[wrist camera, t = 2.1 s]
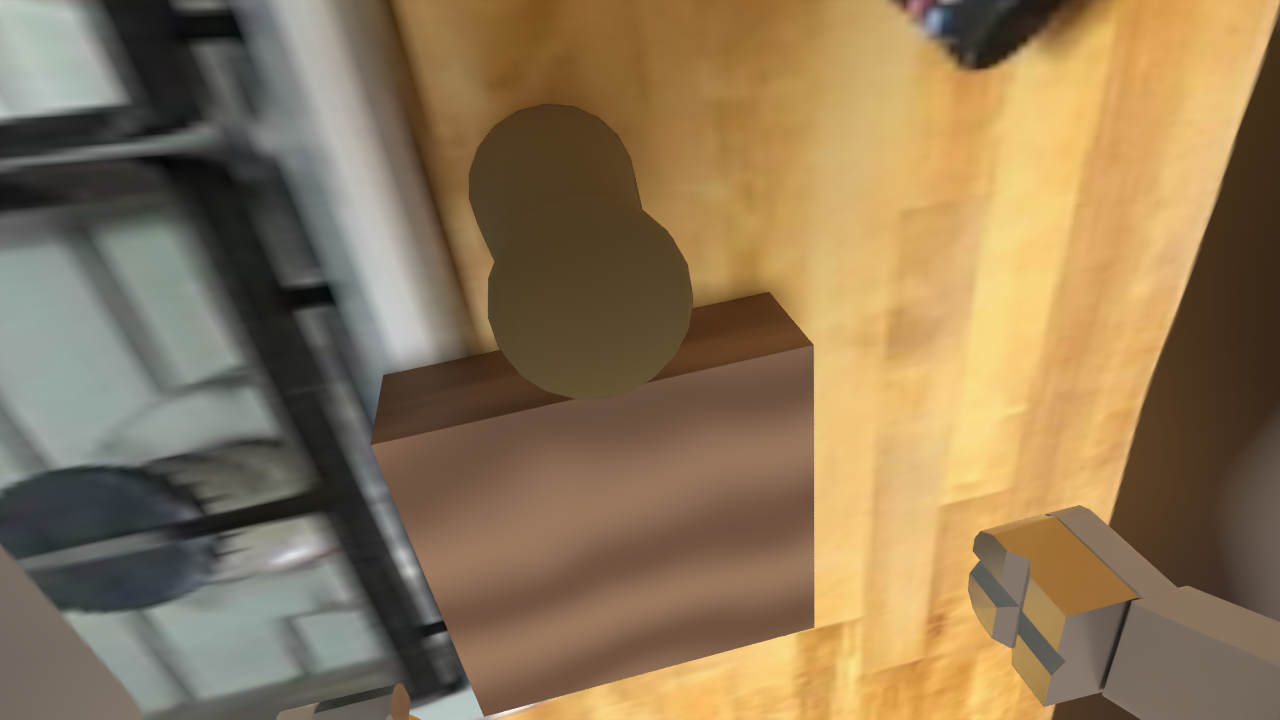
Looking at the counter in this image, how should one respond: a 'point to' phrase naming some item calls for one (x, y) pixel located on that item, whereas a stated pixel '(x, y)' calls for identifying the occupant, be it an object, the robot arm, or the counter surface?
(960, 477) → the counter surface
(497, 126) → the brown tall round piece
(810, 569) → the block
